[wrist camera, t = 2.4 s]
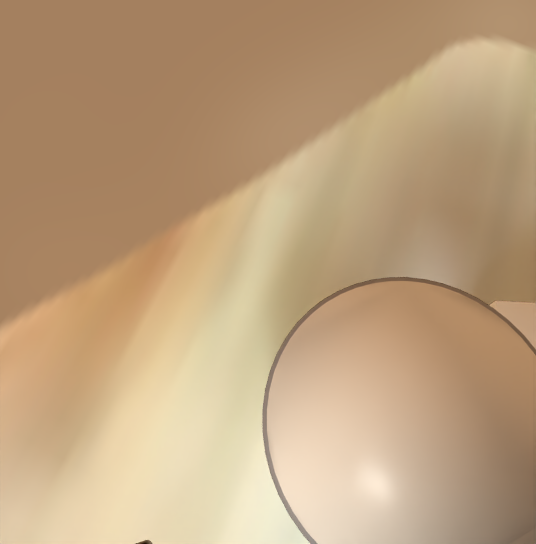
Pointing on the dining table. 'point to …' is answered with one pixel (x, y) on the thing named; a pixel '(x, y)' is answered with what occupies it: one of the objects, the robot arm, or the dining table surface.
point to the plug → (404, 419)
